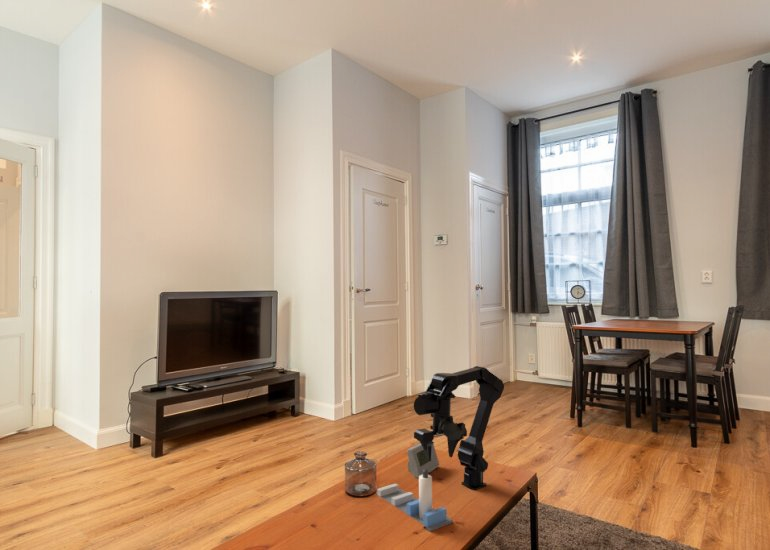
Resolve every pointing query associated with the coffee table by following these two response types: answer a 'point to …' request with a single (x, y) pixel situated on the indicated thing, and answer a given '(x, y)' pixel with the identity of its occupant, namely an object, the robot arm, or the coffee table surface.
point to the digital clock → (421, 460)
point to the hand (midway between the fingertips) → (440, 458)
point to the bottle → (425, 493)
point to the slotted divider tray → (414, 507)
